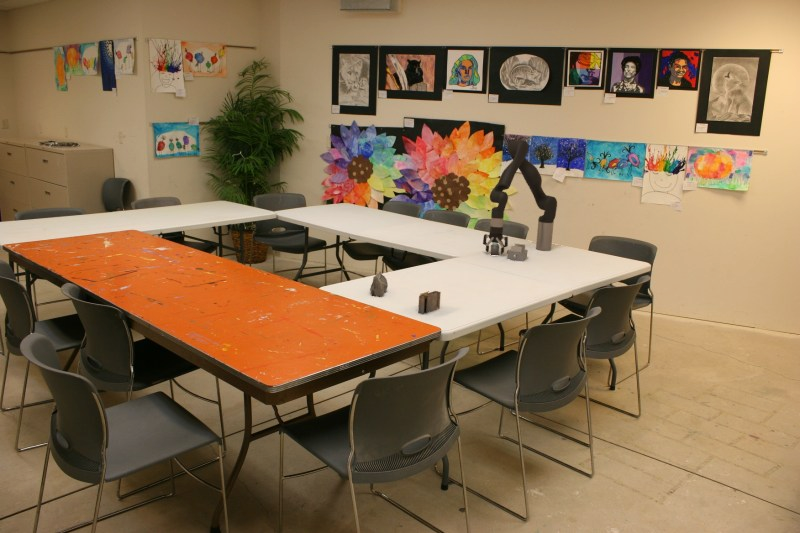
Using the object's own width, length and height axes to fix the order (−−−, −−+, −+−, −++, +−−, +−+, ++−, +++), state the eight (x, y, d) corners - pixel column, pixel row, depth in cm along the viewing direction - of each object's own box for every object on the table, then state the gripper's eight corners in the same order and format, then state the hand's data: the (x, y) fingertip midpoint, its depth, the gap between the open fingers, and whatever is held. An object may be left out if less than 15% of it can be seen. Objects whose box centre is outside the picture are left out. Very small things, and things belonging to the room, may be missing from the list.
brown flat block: (424, 315, 272) (425, 292, 270) (418, 313, 274) (419, 290, 272) (440, 309, 281) (441, 287, 278) (434, 308, 282) (435, 286, 280)
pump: (491, 254, 395) (492, 242, 394) (499, 255, 393) (500, 243, 392) (489, 255, 391) (490, 244, 389) (497, 256, 389) (498, 245, 388)
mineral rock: (382, 288, 309) (383, 267, 307) (399, 293, 302) (400, 271, 299) (361, 292, 300) (362, 271, 298) (378, 298, 293) (379, 275, 290)
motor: (508, 256, 392) (509, 242, 390) (526, 258, 388) (528, 244, 386) (503, 259, 381) (504, 245, 379) (521, 262, 377) (523, 248, 375)
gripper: (510, 225, 389) (508, 253, 392) (486, 223, 394) (484, 250, 398) (507, 227, 382) (504, 255, 386) (482, 225, 388) (480, 252, 391)
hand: (494, 252), depth 392 cm, fingers open, 8 cm apart
